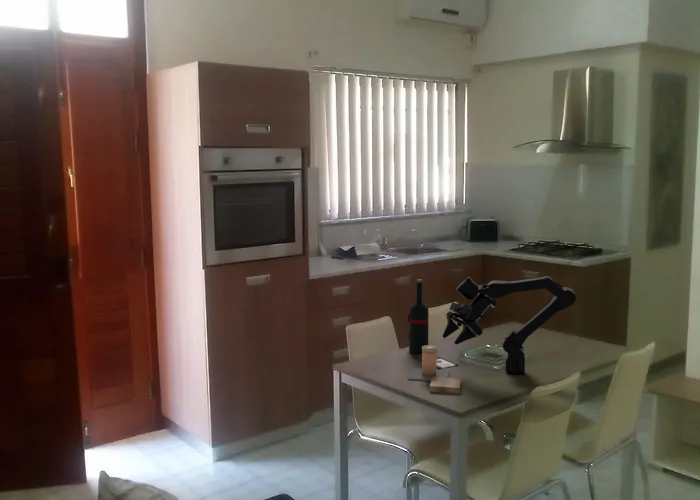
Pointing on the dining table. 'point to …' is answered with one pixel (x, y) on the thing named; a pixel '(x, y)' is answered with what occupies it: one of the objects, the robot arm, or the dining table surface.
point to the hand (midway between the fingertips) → (449, 340)
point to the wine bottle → (418, 323)
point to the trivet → (445, 385)
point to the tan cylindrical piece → (429, 360)
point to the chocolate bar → (438, 362)
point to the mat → (417, 375)
